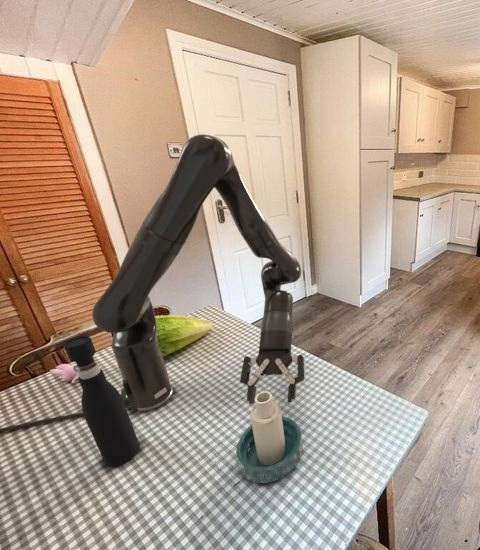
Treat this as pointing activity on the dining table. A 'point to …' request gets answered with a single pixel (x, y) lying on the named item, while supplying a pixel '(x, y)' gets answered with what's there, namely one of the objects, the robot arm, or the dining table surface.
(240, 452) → the dish
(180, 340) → the lettuce
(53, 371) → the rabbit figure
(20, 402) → the dining table surface
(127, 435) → the black insulated flask
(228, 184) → the robot arm
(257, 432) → the white bottle
